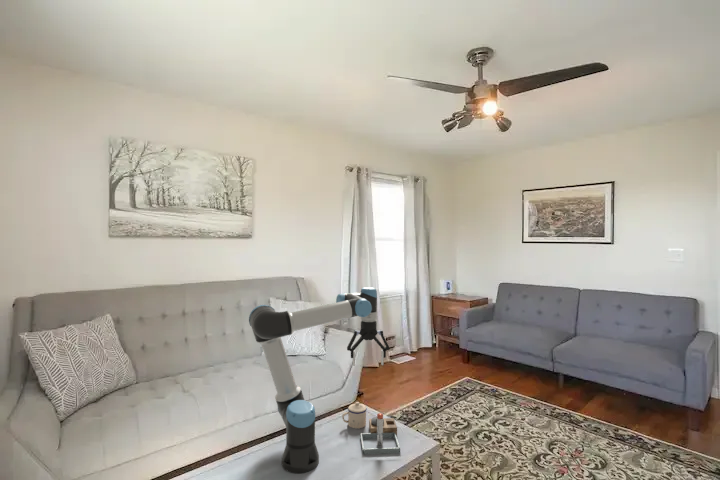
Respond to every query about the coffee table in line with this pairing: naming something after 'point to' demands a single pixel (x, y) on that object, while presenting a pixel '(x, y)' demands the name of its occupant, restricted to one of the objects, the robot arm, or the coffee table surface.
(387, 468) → the coffee table surface
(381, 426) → the pin
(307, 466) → the robot arm
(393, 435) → the tray
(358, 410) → the teacup with lid
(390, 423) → the tan wooden block
